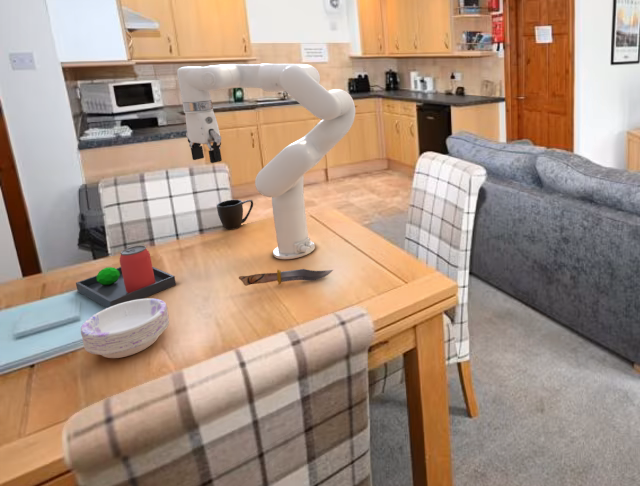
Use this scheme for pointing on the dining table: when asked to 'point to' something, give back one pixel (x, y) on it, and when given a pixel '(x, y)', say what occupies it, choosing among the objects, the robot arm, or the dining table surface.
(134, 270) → the beer can
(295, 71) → the robot arm
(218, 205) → the mug
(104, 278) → the lime
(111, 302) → the tray
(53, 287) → the dining table surface
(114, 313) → the paper bowls
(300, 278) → the knife
